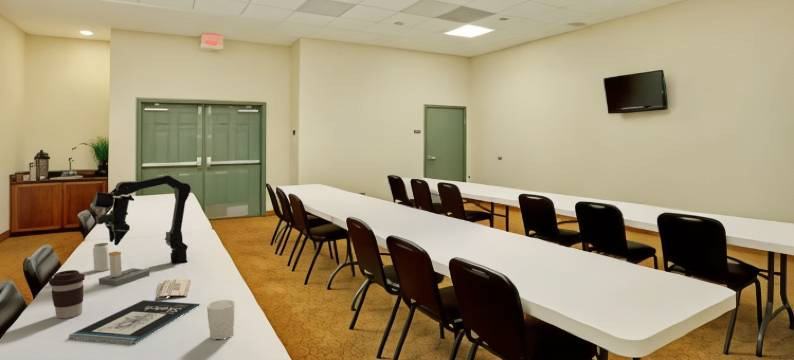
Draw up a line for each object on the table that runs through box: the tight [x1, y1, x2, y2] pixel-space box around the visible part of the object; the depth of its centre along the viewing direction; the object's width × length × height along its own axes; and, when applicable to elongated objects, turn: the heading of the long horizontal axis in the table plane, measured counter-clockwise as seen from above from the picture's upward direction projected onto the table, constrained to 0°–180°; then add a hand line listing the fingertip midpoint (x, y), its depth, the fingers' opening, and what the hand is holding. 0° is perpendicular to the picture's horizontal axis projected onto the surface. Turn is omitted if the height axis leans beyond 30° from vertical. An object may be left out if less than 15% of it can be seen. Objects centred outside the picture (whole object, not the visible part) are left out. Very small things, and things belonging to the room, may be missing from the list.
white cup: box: [206, 299, 236, 340], centre depth 138 cm, size 8×8×10 cm
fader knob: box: [109, 251, 123, 277], centre depth 190 cm, size 3×3×10 cm
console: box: [98, 267, 150, 287], centre depth 194 cm, size 16×10×2 cm, turn 161°
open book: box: [155, 278, 192, 301], centre depth 180 cm, size 23×12×2 cm, turn 21°
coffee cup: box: [48, 269, 86, 319], centre depth 154 cm, size 10×10×15 cm
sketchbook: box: [68, 299, 201, 346], centre depth 150 cm, size 23×32×2 cm
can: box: [92, 242, 111, 272], centre depth 209 cm, size 6×6×12 cm
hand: (113, 243), depth 202 cm, fingers open, 9 cm apart
